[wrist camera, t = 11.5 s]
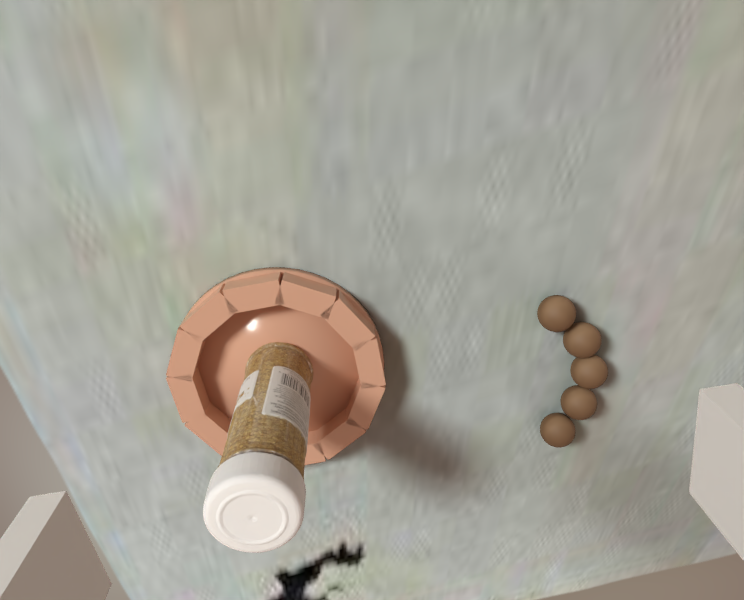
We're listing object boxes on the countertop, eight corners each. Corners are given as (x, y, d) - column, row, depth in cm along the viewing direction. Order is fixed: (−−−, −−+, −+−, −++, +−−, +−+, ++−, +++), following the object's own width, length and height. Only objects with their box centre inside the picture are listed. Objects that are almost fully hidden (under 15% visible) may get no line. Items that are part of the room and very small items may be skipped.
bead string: (525, 294, 37) (537, 308, 35) (596, 281, 37) (613, 294, 35) (536, 436, 42) (547, 457, 40) (600, 424, 42) (615, 444, 39)
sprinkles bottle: (234, 354, 37) (181, 499, 24) (297, 329, 36) (277, 464, 24) (264, 408, 39) (230, 569, 26) (325, 385, 38) (320, 538, 26)
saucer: (146, 289, 36) (134, 303, 34) (363, 248, 35) (364, 260, 33) (209, 464, 41) (203, 485, 39) (398, 429, 41) (401, 449, 39)
